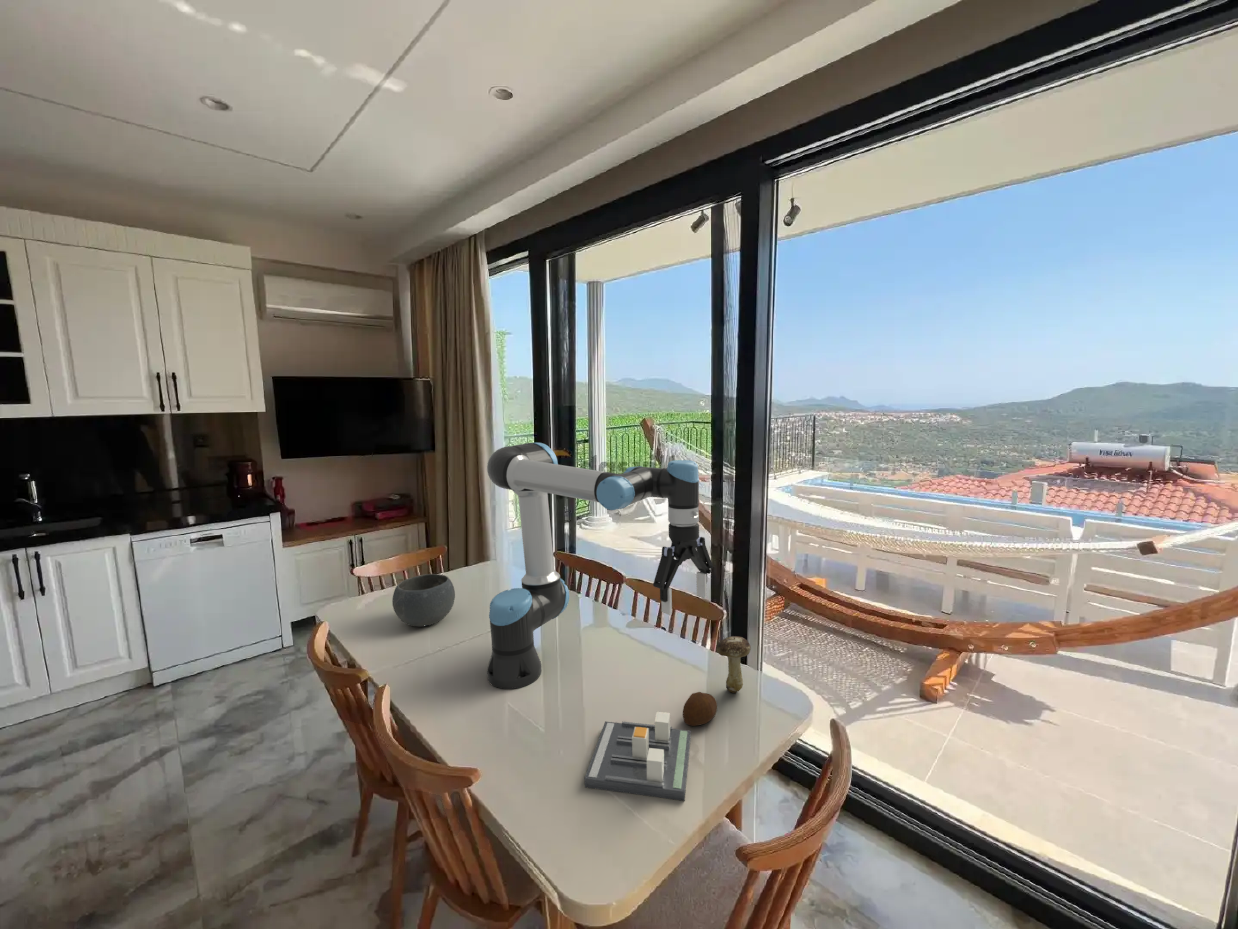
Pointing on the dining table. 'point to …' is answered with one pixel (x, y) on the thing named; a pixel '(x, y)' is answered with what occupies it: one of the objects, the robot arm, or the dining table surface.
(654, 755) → the breaker
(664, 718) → the block
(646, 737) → the block
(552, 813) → the dining table surface
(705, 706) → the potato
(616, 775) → the panel
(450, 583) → the bowl
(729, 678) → the mushroom
